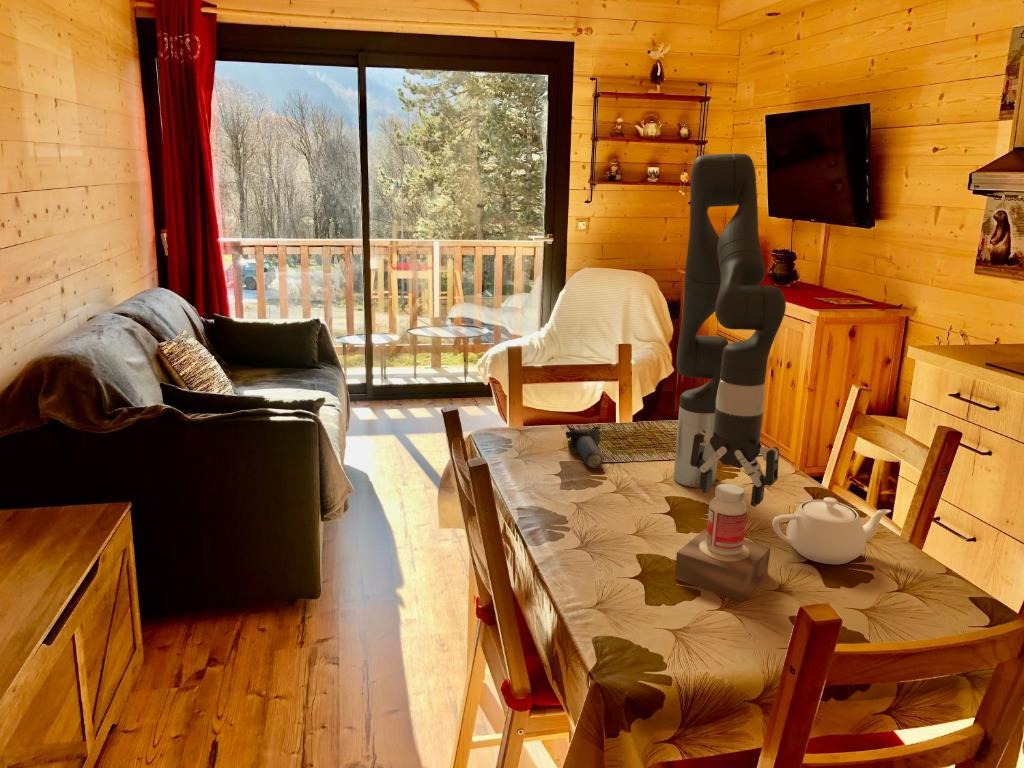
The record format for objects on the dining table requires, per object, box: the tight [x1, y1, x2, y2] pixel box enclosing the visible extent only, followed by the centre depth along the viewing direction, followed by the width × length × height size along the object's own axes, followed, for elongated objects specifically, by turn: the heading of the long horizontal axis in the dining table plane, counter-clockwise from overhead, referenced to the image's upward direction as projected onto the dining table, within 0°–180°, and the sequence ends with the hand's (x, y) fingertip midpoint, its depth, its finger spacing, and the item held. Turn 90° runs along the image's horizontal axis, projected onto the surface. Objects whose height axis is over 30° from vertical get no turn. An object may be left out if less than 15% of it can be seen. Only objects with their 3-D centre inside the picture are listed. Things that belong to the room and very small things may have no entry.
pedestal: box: [674, 528, 771, 602], centre depth 139 cm, size 12×12×5 cm
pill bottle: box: [706, 483, 748, 556], centre depth 137 cm, size 6×6×11 cm
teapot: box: [771, 496, 892, 565], centre depth 148 cm, size 22×14×11 cm, turn 94°
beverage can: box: [564, 426, 604, 469], centre depth 192 cm, size 9×8×12 cm
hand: (729, 498), depth 136 cm, fingers open, 8 cm apart
